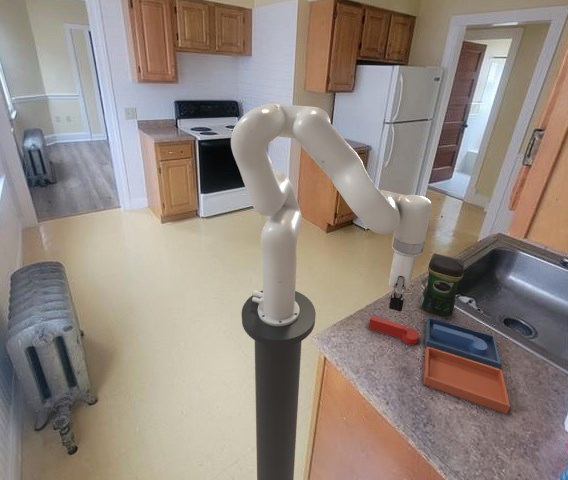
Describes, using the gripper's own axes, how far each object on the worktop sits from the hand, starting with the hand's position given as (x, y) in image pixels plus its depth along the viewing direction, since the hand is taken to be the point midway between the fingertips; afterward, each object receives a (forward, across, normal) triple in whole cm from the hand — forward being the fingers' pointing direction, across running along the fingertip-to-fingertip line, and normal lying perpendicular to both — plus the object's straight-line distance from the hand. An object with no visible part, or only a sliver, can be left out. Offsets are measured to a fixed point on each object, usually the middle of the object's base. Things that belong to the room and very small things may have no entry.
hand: (397, 298), depth 87 cm
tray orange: (+12, +9, +18) cm, 23 cm away
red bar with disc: (+12, 0, +1) cm, 12 cm away
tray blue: (+12, -3, +18) cm, 22 cm away
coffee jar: (+12, -17, +12) cm, 24 cm away
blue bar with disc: (+12, -3, +17) cm, 21 cm away
